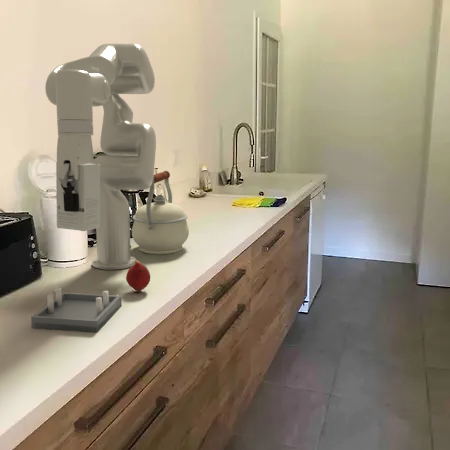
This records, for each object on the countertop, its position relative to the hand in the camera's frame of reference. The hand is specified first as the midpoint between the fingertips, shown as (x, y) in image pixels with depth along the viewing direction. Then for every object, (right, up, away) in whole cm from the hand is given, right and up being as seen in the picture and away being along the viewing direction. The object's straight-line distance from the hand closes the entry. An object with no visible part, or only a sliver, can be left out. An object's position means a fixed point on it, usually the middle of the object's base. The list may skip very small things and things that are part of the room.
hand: (78, 208), depth 117 cm
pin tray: (+1, -24, -4) cm, 24 cm away
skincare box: (0, -5, +1) cm, 5 cm away
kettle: (+12, -12, +54) cm, 56 cm away
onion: (+12, -21, +12) cm, 26 cm away
